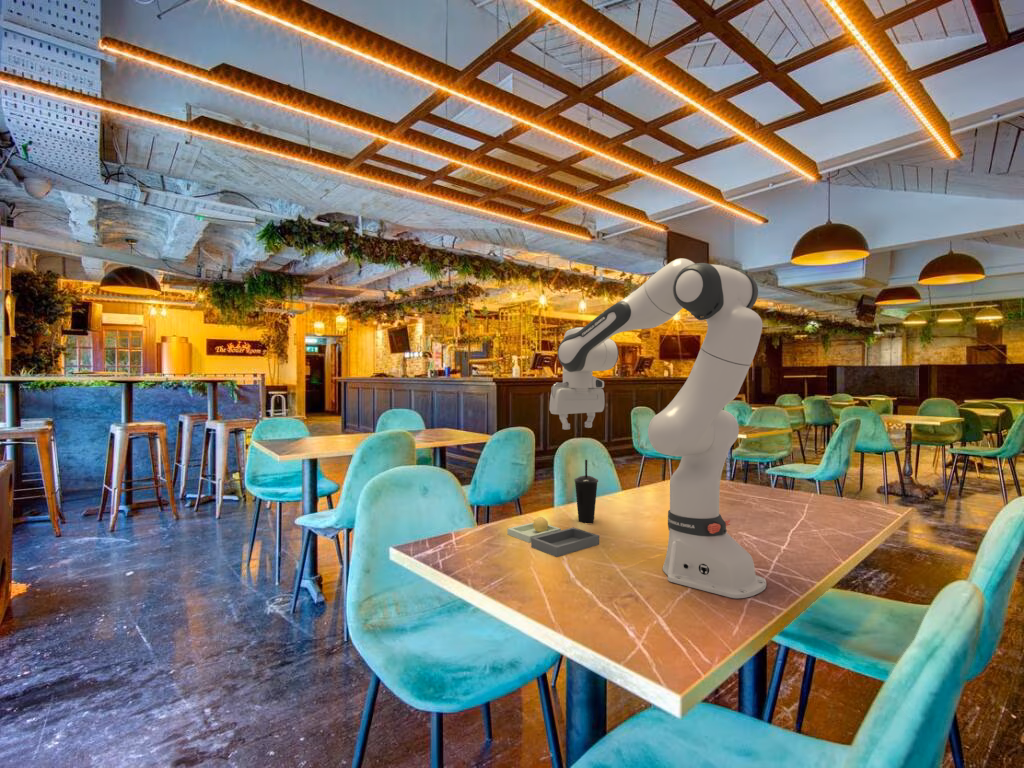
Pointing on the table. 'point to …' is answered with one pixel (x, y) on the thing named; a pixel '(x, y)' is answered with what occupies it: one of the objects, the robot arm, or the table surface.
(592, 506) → the drinking cup
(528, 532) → the tray
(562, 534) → the dish
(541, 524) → the ball
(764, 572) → the table surface
